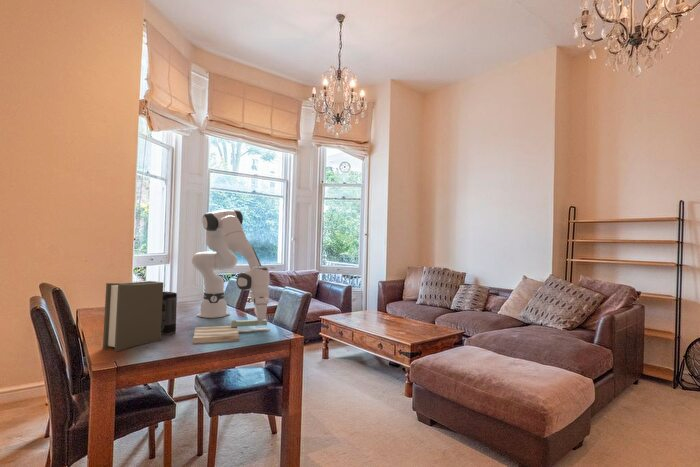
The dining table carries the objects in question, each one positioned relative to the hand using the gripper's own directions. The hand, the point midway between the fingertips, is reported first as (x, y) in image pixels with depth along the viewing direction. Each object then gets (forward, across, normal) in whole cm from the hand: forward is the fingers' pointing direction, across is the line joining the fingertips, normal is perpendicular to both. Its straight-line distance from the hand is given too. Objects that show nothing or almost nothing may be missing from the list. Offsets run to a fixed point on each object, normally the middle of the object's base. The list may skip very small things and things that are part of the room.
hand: (259, 324), depth 194 cm
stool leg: (+1, -6, -5) cm, 7 cm away
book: (+4, +6, -56) cm, 56 cm away
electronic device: (+4, -11, -45) cm, 46 cm away
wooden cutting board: (+4, +2, -13) cm, 13 cm away
